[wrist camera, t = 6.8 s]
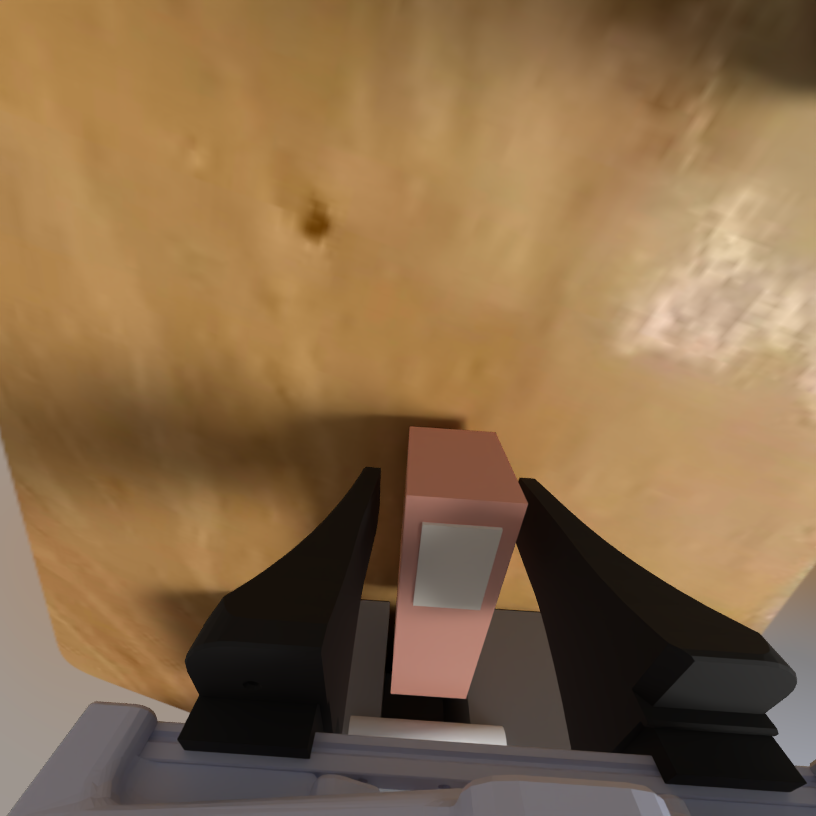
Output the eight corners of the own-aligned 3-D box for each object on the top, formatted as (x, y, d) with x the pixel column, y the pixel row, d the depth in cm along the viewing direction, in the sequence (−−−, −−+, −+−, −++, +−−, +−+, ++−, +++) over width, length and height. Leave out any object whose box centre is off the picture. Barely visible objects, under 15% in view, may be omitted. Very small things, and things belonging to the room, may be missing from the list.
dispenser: (552, 691, 23) (597, 834, 17) (272, 671, 23) (224, 808, 17) (600, 608, 19) (683, 767, 13) (249, 584, 19) (171, 731, 13)
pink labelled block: (456, 608, 17) (466, 701, 14) (396, 604, 17) (390, 696, 14) (495, 432, 12) (529, 506, 8) (409, 426, 12) (406, 497, 8)
